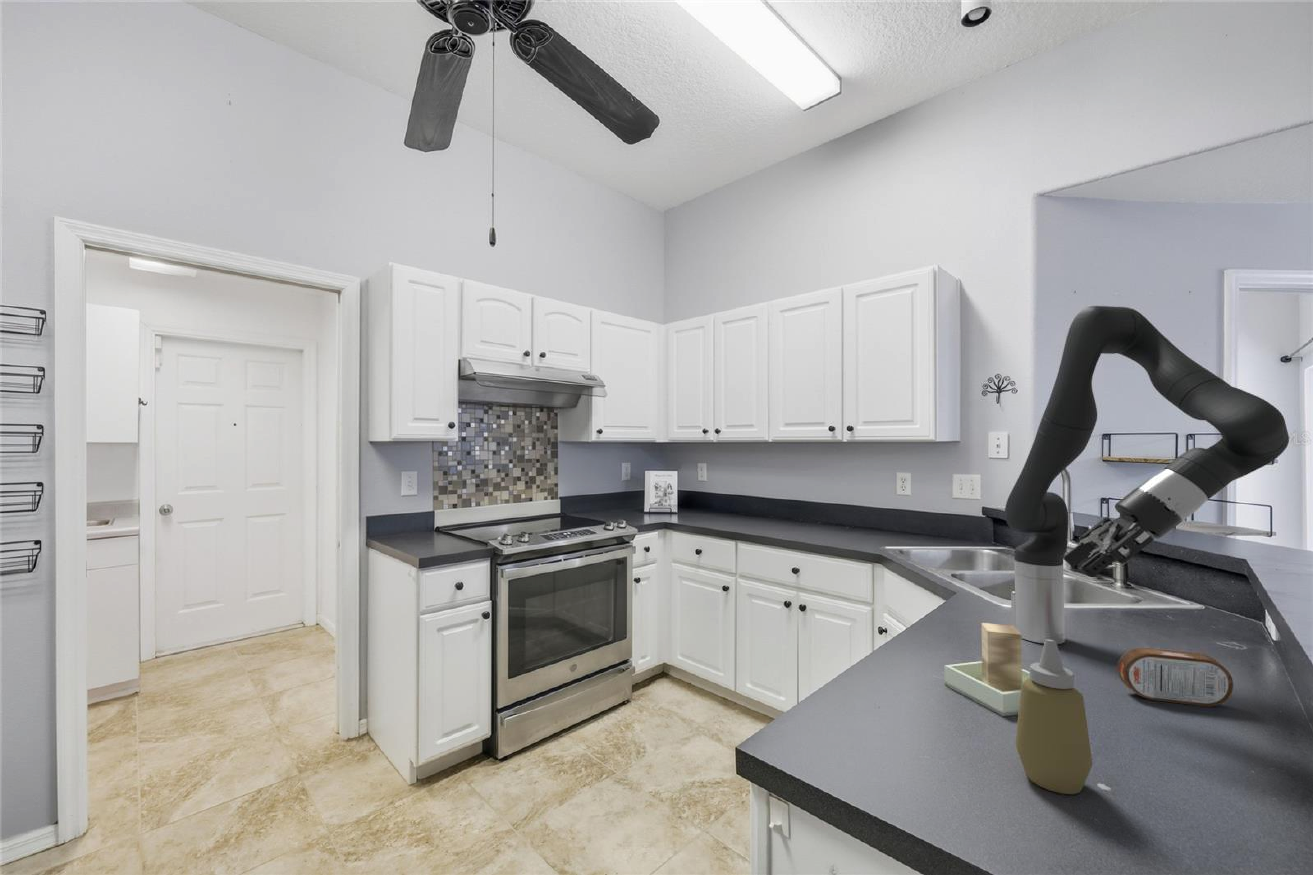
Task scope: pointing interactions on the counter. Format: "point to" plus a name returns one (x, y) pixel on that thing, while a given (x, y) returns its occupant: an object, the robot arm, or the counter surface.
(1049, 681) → the squeeze bottle
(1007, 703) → the bin
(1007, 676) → the beech block
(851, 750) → the counter surface
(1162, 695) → the tin
